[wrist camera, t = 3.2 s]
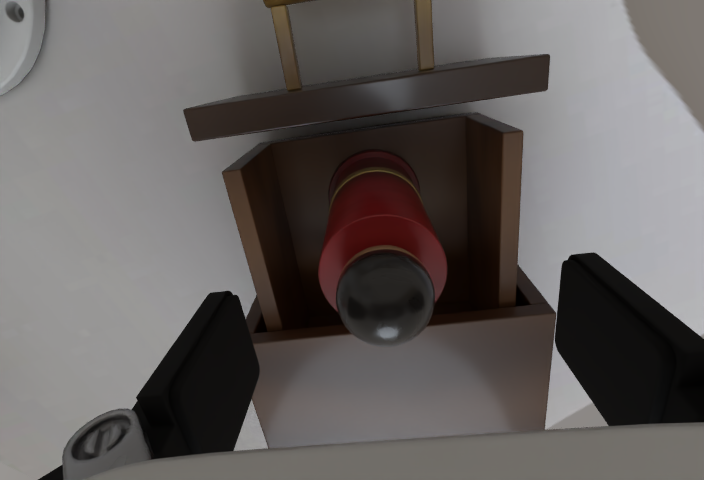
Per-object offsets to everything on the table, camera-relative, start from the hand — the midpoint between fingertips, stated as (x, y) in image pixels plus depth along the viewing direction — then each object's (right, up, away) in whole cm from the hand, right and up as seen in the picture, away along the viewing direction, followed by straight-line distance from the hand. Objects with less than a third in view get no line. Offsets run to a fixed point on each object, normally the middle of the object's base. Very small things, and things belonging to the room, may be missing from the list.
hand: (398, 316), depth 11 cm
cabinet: (+2, -5, +17) cm, 18 cm away
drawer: (0, +6, +11) cm, 12 cm away
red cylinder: (0, +5, +10) cm, 11 cm away
